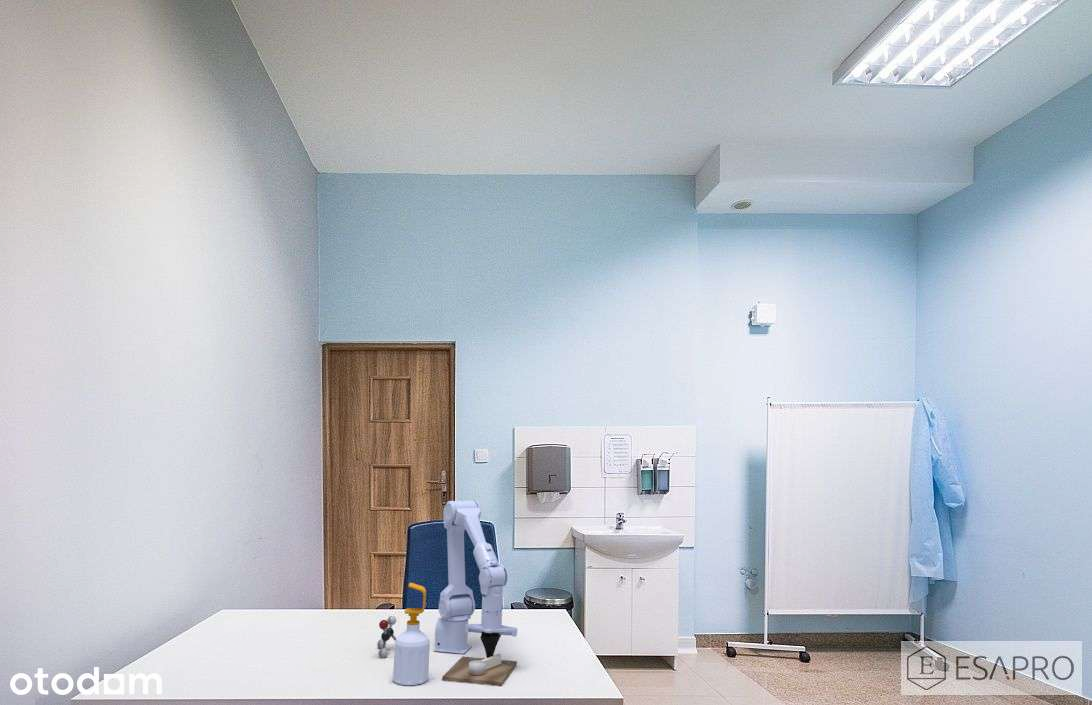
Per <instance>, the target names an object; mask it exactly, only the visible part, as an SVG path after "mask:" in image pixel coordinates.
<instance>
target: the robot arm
mask: <svg viewBox="0 0 1092 705" xmlns="http://www.w3.org/2000/svg"><path fill="white" fill-rule="evenodd" d="M481 515H482V510H481V504H480V503H479V502H478V500H476V499H473V500H449V501H447V502H446V504H445V506H444V508H443V527H444V529H446V535H447V536H446V538H447V539H446V540H447V546H446V547H447V571H448V572H447V574H448V576H447V579H448V580H447V581H448V585H447V586H446V587H445V588H444V589H443V590H441V592H440V593H439V594H440V595H439V601H438V602H439V603H438V613H439V616H440V617H439V618H437V621H436V623H435V629H434V630H435V632H434V648H433V652H438V651H439V652H440V653H451V654H460V655H461V654H463V655H464V654H465V653H466V652H468V650H470V648H471V647H472V644H468V635H469V634H470V633H475V634H478V633H479V634H480V636H479V637H480V641H481V643H482V646H483V648H484V651H485V655H486V658H489V657H491V656H494V655H495V652H496V651H495V650H496V648H497V645H498V643H499V641H500V639H501V636H512V637H514V638H515V637H517V635H518V627H513V626H508V625H502V624H503V622H502V621H503V620H502V619H503V597H504V595H503V594H504V587H505V586H506V585H507V583H508V578H509V577H508V576H509V575H508V571H507V568H506V566H504V565H503V564H502V562H500V561H499V560H498V558H497V556H496V553H495V551H494V548H493V545H492V544H490V543H489V542H487V541H486V537H485V535H484V531H483V527H482V524H481V522H480V521H481V520H480V519H481V517H482V516H481ZM465 531H466V532H467V534H468V536H469V538H470V540H471V542H472V545H473V546H474V549H473V551H472V554H473V557H474V559H475V562H476V564H477V567H478V569H479V575H478V582H479V586H480V593H481V597H482V599H481V616H480V617H481V623H469V620H470V619H471V616H473V614H474V612H475V611H476V602H475V598H474V593H473V591H474V590H472V589H471V588H470V587H469V586H467V585H466V563H465V562H466V561H465V558H466V557H465V534H464V533H465Z"/></svg>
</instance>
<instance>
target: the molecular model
mask: <svg viewBox="0 0 1092 705" xmlns="http://www.w3.org/2000/svg"><path fill="white" fill-rule="evenodd" d="M395 624H397V618H396V616H394V615H390V616H388V618H387V619H382V620H380V621H379V624H378V627H379V628H380V629H381V630H382V631H383V632H382V633H381V636H380V639H379V640H378V641H377V642H376V645H377V646H376V647H378V648H379V650H378V653H377V654H378V656H379V657H380V658H381V659H384V658H386V657H387V656H388V654H389V652H388V649H387V648H386V646H387V641H389V640H390V639H391V638H392V639H393V640H394V641H395V640H396V638H397V637H396V636H395V634H394V633H395V632H394V631H395V630H394V629H393V628H392V627H393V626H394V625H395Z"/></svg>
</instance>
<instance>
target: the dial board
mask: <svg viewBox="0 0 1092 705" xmlns="http://www.w3.org/2000/svg"><path fill="white" fill-rule="evenodd" d="M486 658H487V657H486ZM486 658H485V657H475V656H463V655H462V656H461V657H460V658H459V659H458V660H457V661H456V662H455V663H454V664H453V665H452V666H451V667H450V668H449V669H448V670H447V671H446V672H445V673H444V674H443V675H442V679H441V681H442V680H448V681H447V682H453V681H457V682H456V683H463V682H468V683H467V684H473V683H479V684H478V685H484V684H491V685H490V686H494V685H499V686H498V687H502V686H503V685H502V684H504V683H505V682H506V680H507V679H508V678H509V676H510V675H511V674H510V673H512V672H513V671H514V669H515V668H516V667H517V665H518V661H517V660H508V659H507V660H506V659H502V661H501V664H499V665H497V666H494V667H492V668H489V669H487V670H485V674H482V675H472V674H469V662H470V661H473V660H484V659H486ZM516 664H517V665H516ZM515 666H516V667H515ZM514 667H515V668H514ZM512 670H513V671H512ZM511 671H512V672H511ZM509 674H510V675H509ZM507 677H508V678H507ZM504 681H505V682H504Z"/></svg>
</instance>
